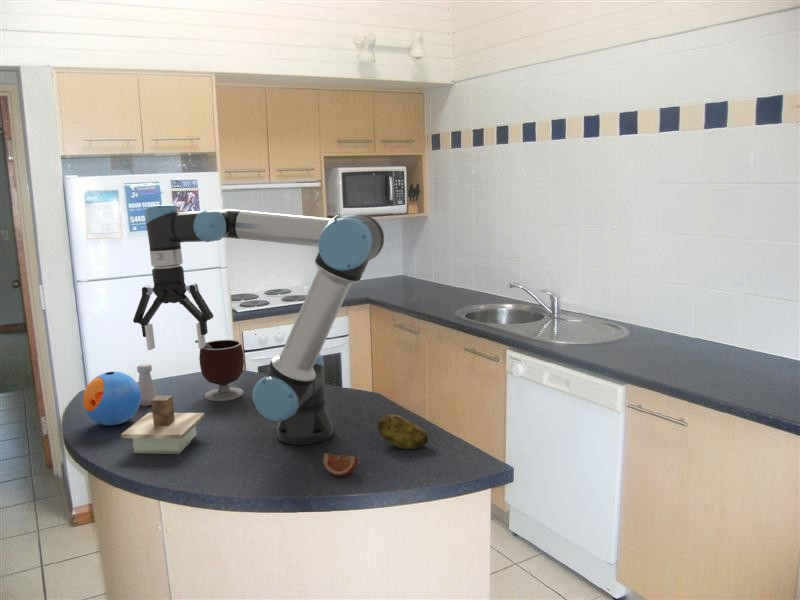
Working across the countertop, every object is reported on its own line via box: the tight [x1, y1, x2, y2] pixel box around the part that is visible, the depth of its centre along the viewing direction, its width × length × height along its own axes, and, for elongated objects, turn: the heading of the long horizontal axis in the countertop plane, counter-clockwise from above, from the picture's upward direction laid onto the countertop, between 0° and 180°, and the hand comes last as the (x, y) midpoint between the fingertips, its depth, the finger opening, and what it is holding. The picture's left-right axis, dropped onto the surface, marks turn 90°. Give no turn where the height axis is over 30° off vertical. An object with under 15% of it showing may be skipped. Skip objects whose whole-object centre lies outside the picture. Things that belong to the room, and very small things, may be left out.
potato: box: [376, 413, 429, 450], centre depth 173 cm, size 8×13×8 cm, turn 54°
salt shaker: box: [136, 363, 158, 407], centre depth 210 cm, size 6×6×13 cm
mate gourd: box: [194, 339, 245, 402], centre depth 216 cm, size 16×14×20 cm
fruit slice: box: [322, 452, 359, 477], centre depth 158 cm, size 8×7×5 cm
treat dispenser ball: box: [82, 371, 141, 426], centre depth 193 cm, size 16×15×15 cm
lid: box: [120, 395, 206, 439], centre depth 176 cm, size 16×16×8 cm
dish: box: [132, 425, 197, 455], centre depth 177 cm, size 12×12×5 cm
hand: (176, 348), depth 172 cm, fingers open, 13 cm apart
